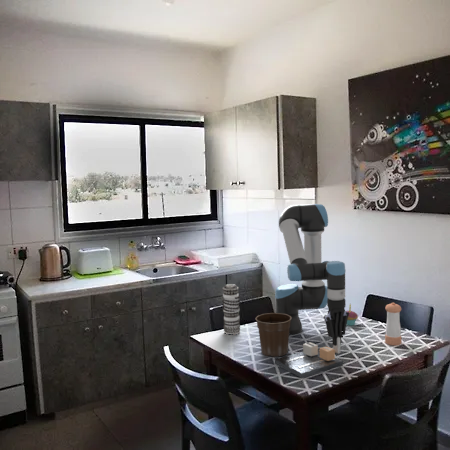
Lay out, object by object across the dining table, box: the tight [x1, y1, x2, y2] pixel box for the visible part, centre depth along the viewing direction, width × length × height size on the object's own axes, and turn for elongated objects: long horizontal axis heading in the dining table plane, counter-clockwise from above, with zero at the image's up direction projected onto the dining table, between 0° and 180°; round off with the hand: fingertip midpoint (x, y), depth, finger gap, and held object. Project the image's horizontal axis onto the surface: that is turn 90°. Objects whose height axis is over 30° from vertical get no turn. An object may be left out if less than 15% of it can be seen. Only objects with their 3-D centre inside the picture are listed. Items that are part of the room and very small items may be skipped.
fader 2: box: [319, 346, 336, 361], centre depth 205 cm, size 5×4×4 cm
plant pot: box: [255, 312, 292, 358], centre depth 220 cm, size 16×16×16 cm
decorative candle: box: [221, 283, 241, 335], centre depth 249 cm, size 9×9×25 cm
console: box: [274, 349, 344, 379], centre depth 205 cm, size 18×22×2 cm
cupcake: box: [345, 303, 359, 327], centre depth 256 cm, size 9×8×12 cm
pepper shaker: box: [384, 302, 403, 346], centre depth 226 cm, size 7×7×19 cm
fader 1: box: [302, 342, 319, 356], centre depth 210 cm, size 5×4×4 cm
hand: (336, 352), depth 207 cm, fingers closed
